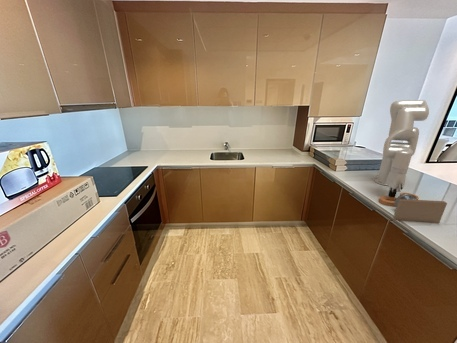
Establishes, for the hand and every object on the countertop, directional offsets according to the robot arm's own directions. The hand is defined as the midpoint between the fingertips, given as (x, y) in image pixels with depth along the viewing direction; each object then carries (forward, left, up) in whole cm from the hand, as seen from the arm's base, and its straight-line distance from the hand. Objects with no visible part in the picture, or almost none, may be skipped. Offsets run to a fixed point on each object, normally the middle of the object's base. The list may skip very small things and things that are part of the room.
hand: (391, 196), depth 124 cm
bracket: (+6, 0, -3) cm, 6 cm away
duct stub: (+17, 0, -2) cm, 17 cm away
